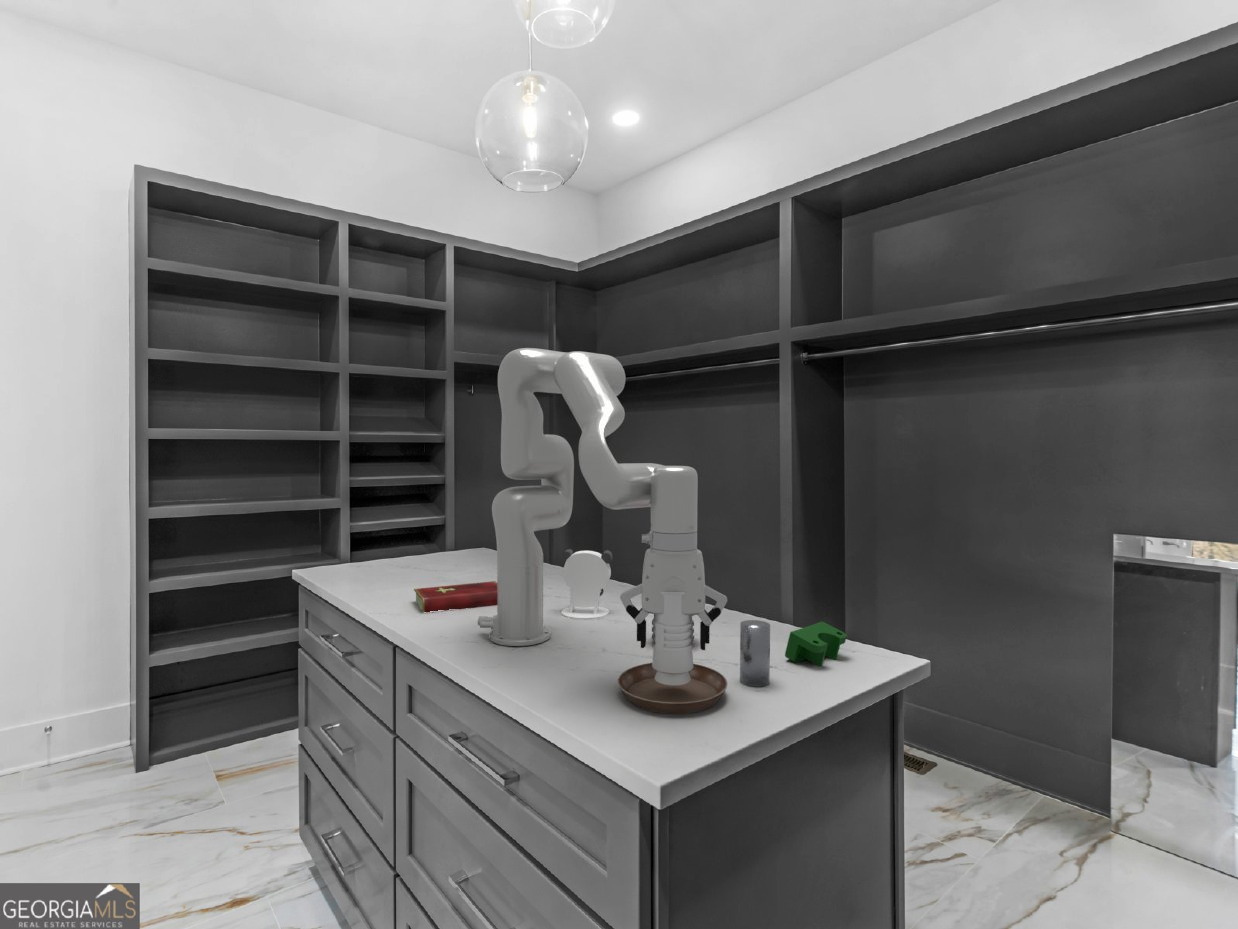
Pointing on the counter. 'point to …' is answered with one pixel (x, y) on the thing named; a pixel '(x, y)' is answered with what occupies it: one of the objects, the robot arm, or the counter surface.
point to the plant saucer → (672, 690)
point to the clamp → (814, 643)
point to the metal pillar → (754, 653)
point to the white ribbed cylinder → (672, 642)
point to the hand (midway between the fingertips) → (672, 646)
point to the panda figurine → (586, 582)
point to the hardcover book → (457, 596)
